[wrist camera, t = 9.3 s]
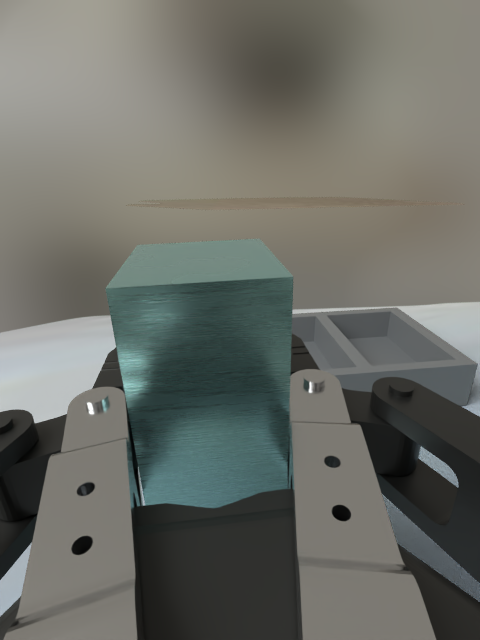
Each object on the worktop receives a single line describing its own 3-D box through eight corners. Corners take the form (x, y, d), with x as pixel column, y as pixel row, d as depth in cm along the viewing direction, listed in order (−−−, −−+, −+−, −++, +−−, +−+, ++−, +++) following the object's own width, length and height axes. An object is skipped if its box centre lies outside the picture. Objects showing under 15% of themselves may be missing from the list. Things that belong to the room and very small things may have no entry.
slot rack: (391, 339, 35) (397, 305, 34) (466, 405, 25) (478, 361, 24) (160, 355, 33) (156, 320, 32) (146, 434, 23) (139, 387, 22)
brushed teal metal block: (261, 490, 15) (259, 238, 11) (284, 599, 11) (293, 276, 7) (173, 500, 14) (137, 244, 10) (165, 616, 11) (105, 288, 7)
